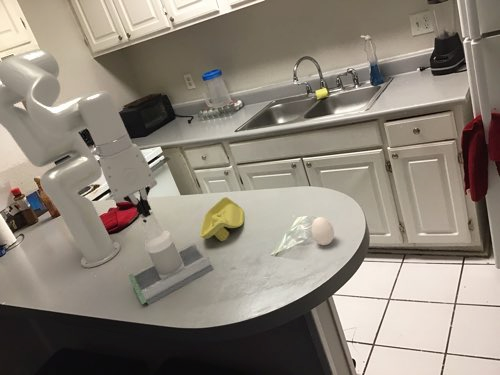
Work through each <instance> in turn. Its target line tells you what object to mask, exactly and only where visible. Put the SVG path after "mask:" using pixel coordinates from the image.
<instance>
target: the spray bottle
mask: <svg viewBox="0 0 500 375" xmlns="http://www.w3.org/2000/svg"><path fill="white" fill-rule="evenodd" d="M149 212H150V214H151V215H147V217H144V216H143V215H142V214H141V215H139V219H140V221H141V226H142V228H143V230H144V232H145V233H144V234H145V235H146V237H147V238H146V239H145V241H144V247H145V249H146V251H147V253H148V255H149V257H150V259H151V261H152V264H154V266H155V268H156V270H157V272H158V274H159V276H160V278H161V279H164V278H165V277H167V276H169V275H171V274H173V273H175V272H177V271H178V270H180V269H182V268H184V267H185V266H184V264H183V261H182V259H181V257H180V255H179V252H178V251H179V249H178V248H177V245H176V243H175V241H174V239H173V237H172V235H171V232H170V231H168V230H163V228H162V226H161V224H160V222H159V220H158V218H157V217H156V216H155V214H154V212H153V211H149Z"/></svg>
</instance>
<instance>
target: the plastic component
mask: <svg viewBox="0 0 500 375" xmlns="http://www.w3.org/2000/svg"><path fill="white" fill-rule="evenodd" d="M244 220H245V211H244V209H243V208H242V207H241V206H240V205H238V204H237V203H236V202H234V201H233V200H232V199H231V198H229V197H227V196H225V197H222V198H221V199H220V200H219V201H218V202H217V203H215V204H214V205H213V206H212V207H210V209H208V211H207V212H206V213H205V215H204V217H203V220H202V225H201V228H200V232H199V237H201V238H203V239H204V240H206V239H210V238H212V237H213V236H214V237H216V238H217V240H219V241H220V242H224V241H225V240H226V239H228V237H229V236H230V231H228V230H227V229H236V228H239V227H241V226H242V225H243V224H244ZM225 227H226V228H227V229H226V228H225Z"/></svg>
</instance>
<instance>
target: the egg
mask: <svg viewBox="0 0 500 375" xmlns="http://www.w3.org/2000/svg"><path fill="white" fill-rule="evenodd" d="M310 229H311V236H312V238H313V240H314V241H315V242H316V243H317V244H319V245H321V246H328V245H329V244H331V243H332V241H333V240H334V237H335V230H334V227H333V224H332V223H331V222H330V221H329V219H327V218H325V217H323V216H318V217H316V218H314V220H313V222H312V224H311V228H310Z"/></svg>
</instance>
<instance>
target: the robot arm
mask: <svg viewBox="0 0 500 375" xmlns="http://www.w3.org/2000/svg"><path fill="white" fill-rule="evenodd" d="M59 75H60V66H59V63H58V62H57V60H56V58H55V56H53V54H52V53H50V52H49V51H47V50H45V49H40V48H36V49H33V50H28V51H26V52H23V53H19V54H15V55H12V56H9V57H7V58H5V59H3V60H2V61H1V62H0V125H1V126H2V127H3V128H5V130H6V131H7V132H8V133H9V134H10V136H11V137H12V139H13V140H14V142H15V143H16V145H17V146H18V147H19V149H20V150H21V151H22V152H23V154H24V156H25V157H26V159H27V160H28V161H29V162H30V163H31V164H32V165H33V166H34V167H35V168H36V167H37V168H43V167H46V166H49V165H51V164H53V163H55V162H57V161H59V160H61V159H63V158H65V157H67V156H69V157H71V158H69V159H67V160H65V161H63V162H61V163H58V164H57V165H55V166H53V167H51V168H50V169H48V170H46V171H45V172H44V173H43V174H42V175H41V177H40V182H39V184H40V187H41V189H42V191H43V193H45V195H46V196H47V197H48V198H49V200H50V201H51V202H52V203H53V205H54V207H55V208H56V209H57V212H58V213H59V215H60V216H61V219H62V220H63V222H64V223H65V225H66V227H67V228H68V230H69V233H70V234H71V236H72V238H73V240H74V242H75V243H76V245H77V247H78V248H79V250H80V253H81V255H82V258H81V260H80V264H81V266H82V267H83V268H96V267H99V266H101V265H102V264H104V263H106V262H108V261H110V260H111V259H113V258H114V257H115V256H117V255H118V253H119V252H120V251H121V245H120V243H119V242H118V241H112V238H111V236H110V235H109V232H108V231H107V229H106V227H105V225H104V223H103V220H102V219H101V217H100V215H99V213H98V211H97V209H96V207H95V205H94V204H93V203H94V202H92V200H90V199H89V198H88V197H86V196H83V195H80V194H79V192H80V191H82V190H83V189H85V188H87V187H88V186H91V185H92V184H94V183H95V182H97V181H98V180H99V179H100V178H101V177H102V174H103V176H104V179H105V181H106V183H107V186H108V188H109V190H110V191H111V193H112V196H113V201H114V202H115V203H116V204H119V203H124V202H128V203H131V204H133V205H134V206H135V208H136V210H137V212H138V214H139V216H141V215H143V216H144V217H147V215H151V214H150V212H151V210H152V207H151V206H150V203H149V201H148V196H149V193H150V191H151V190H152V189H153V188H154V187H156V186H157V185H158V181H157V180H156V179H155V175H154V174H153V171H152V169H151V166H150V165H149V163H148V161H147V159H146V158H145V156H144V153H143V152H142V151H141V149H140V147H139V146H138V145H137V143H133V142H132V140H131V136H130V135H129V133H128V131H127V128H126V127H125V124H124V122H123V119H122V117H121V115H120V113H119V110H118V108H117V106H116V104H115V102H114V99H113V96H112V95H111V93H110V92H109V91H107V90H98V91H96V92H93V91H88V92H84V93H81V94H78V95H75V96H73V97H70V98H68V99H65V100H63V101H59V102H58V103H56V101H57V100H58V98H59V95H60V93H61V84H60V81H59V79H58V77H59ZM24 101H25V104H26V105H25V106H26V109H24V108H22V107H19V106H16V104H18V103H22V102H24ZM55 103H56V104H55ZM84 130H88V131H89V132H88V133H89V134H90V137H91V138H92V140H93V143H94V144H95V146H94V148H93V149H90V147H88V145H87V143H86V142H85V141H84V139H83V137H82V136H81V134H80V132H83V131H84ZM95 156H100V157H99V158H98V159H99V161H98V160H97V158H96V157H95ZM137 192H138V194H139V198H138V197H136V196H135V193H137Z"/></svg>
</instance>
